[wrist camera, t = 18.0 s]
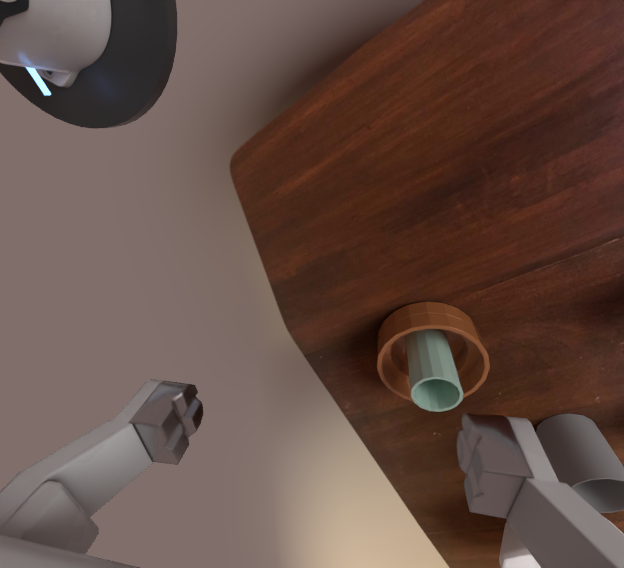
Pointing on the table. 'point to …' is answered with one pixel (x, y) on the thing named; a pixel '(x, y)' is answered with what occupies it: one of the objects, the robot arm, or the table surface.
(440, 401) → the tumbler
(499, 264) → the table surface
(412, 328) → the brown bowl
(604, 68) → the table surface
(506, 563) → the bowl
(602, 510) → the cup
